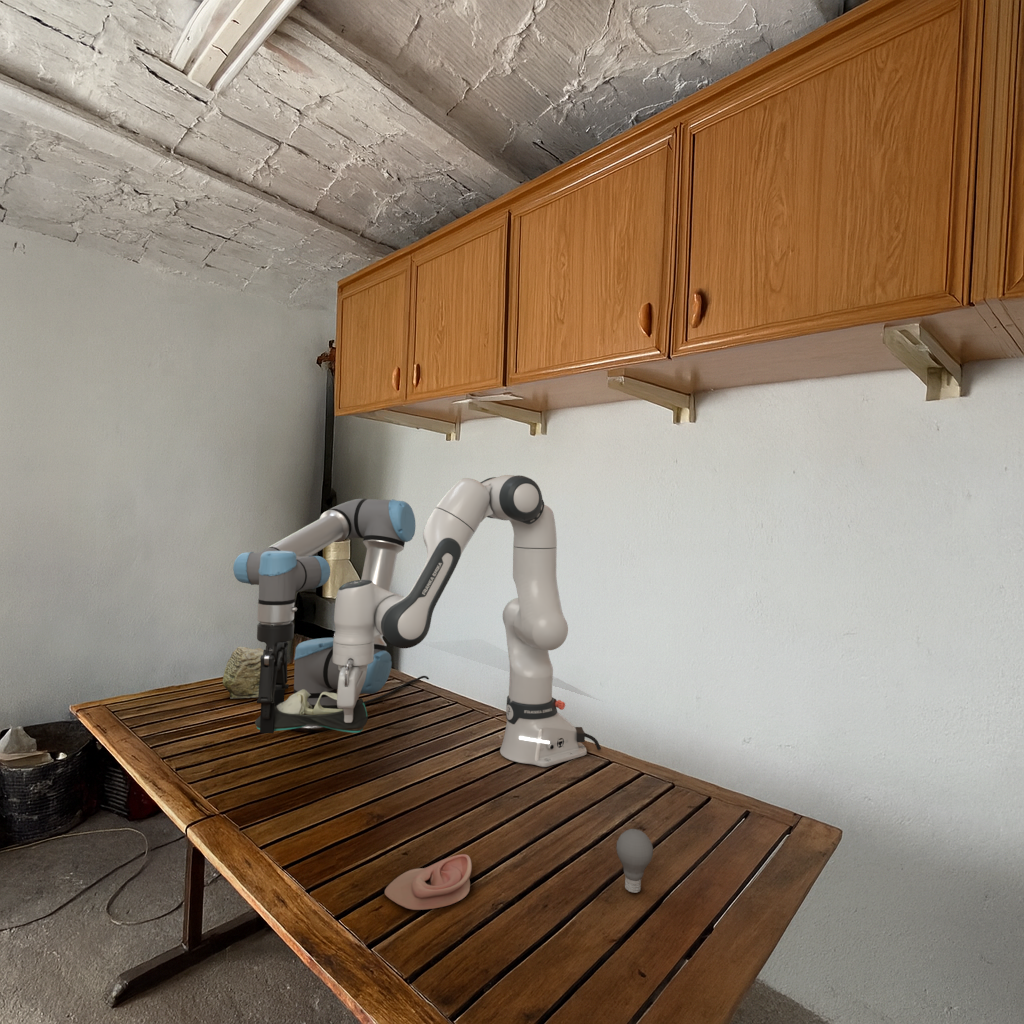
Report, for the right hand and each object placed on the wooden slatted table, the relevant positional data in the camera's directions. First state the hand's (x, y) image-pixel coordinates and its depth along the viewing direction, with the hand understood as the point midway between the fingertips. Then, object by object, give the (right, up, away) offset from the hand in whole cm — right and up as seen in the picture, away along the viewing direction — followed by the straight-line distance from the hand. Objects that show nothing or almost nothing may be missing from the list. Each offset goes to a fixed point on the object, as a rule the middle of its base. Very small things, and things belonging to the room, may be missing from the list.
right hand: (351, 715), depth 140 cm
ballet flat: (-9, -3, 0) cm, 9 cm away
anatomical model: (+22, -17, -37) cm, 46 cm away
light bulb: (+56, -18, -35) cm, 68 cm away
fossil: (-45, -12, +58) cm, 74 cm away
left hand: (-17, -2, -2) cm, 17 cm away
